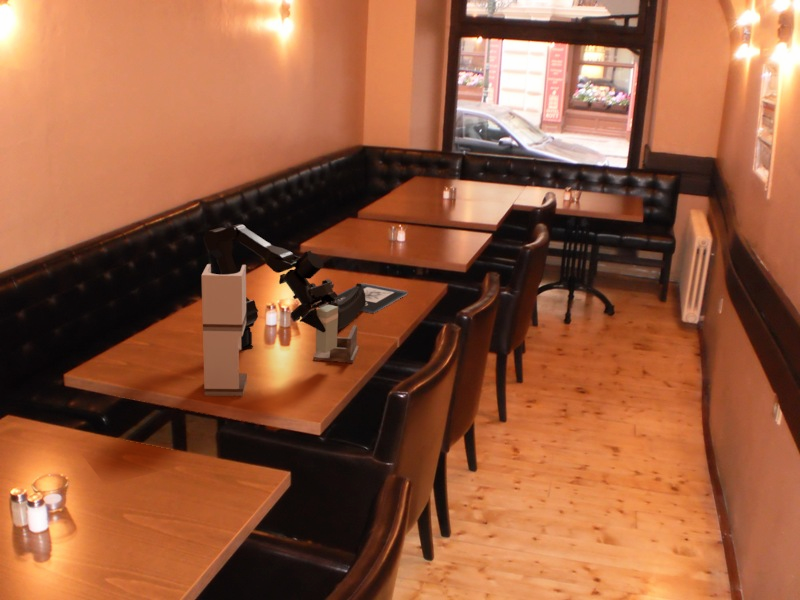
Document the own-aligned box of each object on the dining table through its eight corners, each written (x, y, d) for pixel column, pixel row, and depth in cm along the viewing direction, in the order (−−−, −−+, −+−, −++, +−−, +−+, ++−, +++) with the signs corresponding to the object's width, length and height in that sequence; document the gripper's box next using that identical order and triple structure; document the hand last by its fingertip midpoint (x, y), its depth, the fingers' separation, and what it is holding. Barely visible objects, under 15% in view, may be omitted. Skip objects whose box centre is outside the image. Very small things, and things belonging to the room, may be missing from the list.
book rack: (313, 359, 268) (313, 336, 265) (321, 345, 280) (321, 322, 278) (352, 363, 267) (353, 339, 264) (358, 348, 279) (359, 325, 277)
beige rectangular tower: (242, 395, 239) (241, 276, 229) (204, 395, 238) (201, 275, 228) (246, 380, 250) (245, 264, 240) (210, 379, 249) (207, 264, 239)
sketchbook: (323, 305, 324) (323, 300, 323) (361, 286, 350) (361, 281, 349) (373, 315, 315) (373, 309, 314) (408, 295, 341) (409, 290, 340)
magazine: (334, 312, 286) (363, 266, 310) (325, 310, 287) (355, 265, 311) (338, 352, 295) (366, 306, 319) (329, 351, 296) (358, 304, 320)
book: (315, 350, 258) (316, 309, 254) (327, 344, 263) (328, 304, 260) (325, 353, 256) (326, 312, 252) (336, 346, 262) (338, 306, 258)
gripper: (299, 279, 247) (330, 322, 245) (333, 265, 262) (363, 306, 261) (276, 300, 252) (307, 342, 251) (311, 285, 268) (340, 325, 267)
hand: (330, 328), depth 257 cm, fingers closed on book, 6 cm apart
